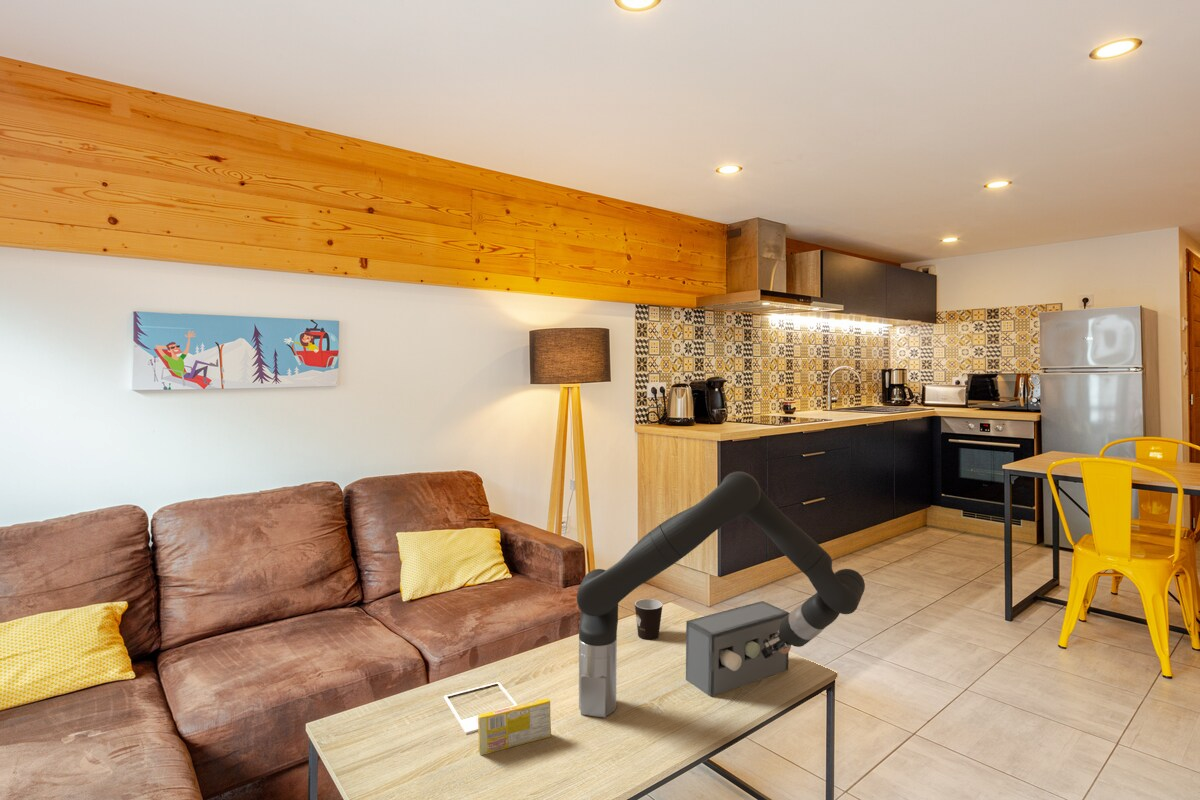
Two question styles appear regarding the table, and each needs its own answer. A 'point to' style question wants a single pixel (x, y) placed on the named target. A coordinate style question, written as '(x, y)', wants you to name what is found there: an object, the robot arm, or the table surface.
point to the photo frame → (472, 722)
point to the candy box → (514, 726)
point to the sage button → (752, 649)
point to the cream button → (730, 659)
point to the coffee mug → (648, 618)
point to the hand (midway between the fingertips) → (764, 654)
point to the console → (732, 647)
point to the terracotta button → (783, 651)
